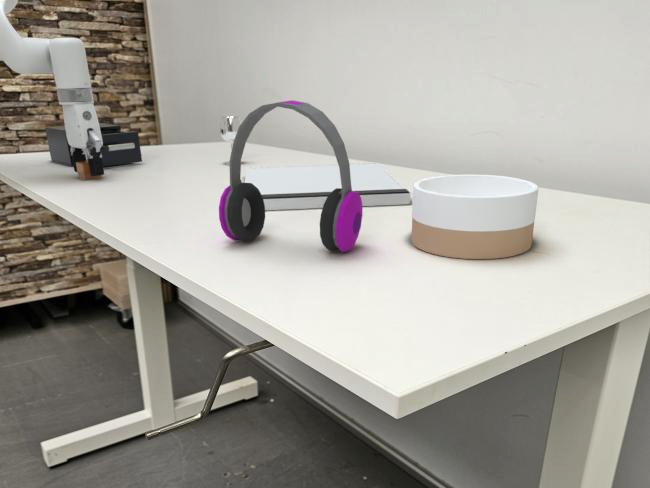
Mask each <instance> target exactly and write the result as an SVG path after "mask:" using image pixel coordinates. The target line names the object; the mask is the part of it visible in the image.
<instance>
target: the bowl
mask: <svg viewBox="0 0 650 488" xmlns="http://www.w3.org/2000/svg"><path fill="white" fill-rule="evenodd" d="M538 195H539V186H538V185H537V184H536V183H534V182H532V181H529V180H526V179H522V178H518V177H512V176H505V175H493V174H447V175H446V174H445V175H437V176H431V177H426V178H422V179H420V180H418V181H416V182H414V183H413V186H412V204H411V205H412V207H411V208H412V209H411V243H412V245H413V246H414V247H416V248H417V249H419V250H421V251H422V252H426V253H429V254H432V255H436V256H440V257H446V258H453V259H465V260H495V259H503V258H510V257H515V256H518V255H522V254H524V253H526V252H528V251H530V249H531V247H532V244H533V236H534V228H535V220H536V214H537V204H538V197H539V196H538Z"/></svg>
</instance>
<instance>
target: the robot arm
mask: <svg viewBox="0 0 650 488" xmlns="http://www.w3.org/2000/svg"><path fill="white" fill-rule="evenodd" d="M18 2H19V0H0V59H1V60H2V61H3V62H4V63H5V65H6V66H7V67H8V68H10V70H12V71H13V72H14V73H16V74H20V75H53V79H54V83H55V88H56V93H57V99H58V104H59V105H60V106H62V116H63V123H64V126H65V130H66V136H67V140H68V143H69V147H70V153H71V156H72V161H73V166H74V167H73V170H74V172H75V173H78V172H77V167H76V162H81V161H86V156H85V154H83V152H84V149H85V150H86V152H87V155H88V157H89V159H87V160H88V165H89V171H90V175H91V176H99V175H101V176H104V175H105V170H104V166H103V163H102V154H101V150H102V149H101V147H102V146H103V141H102V136H101V131H100V126H99V123H100V121H99V118H98V114H97V111H96V108H95V107H96V106H95V101H94V95H93V94H94V93H93V88H92V82H91V78H90V77H91V76H90V71H89V64H88V59H87V58H88V57H87V53H86V47H85V44H84V41H83V40H82V39H81V38H78V37H54V38H45V37H23V36H20V34H19V33H18V31H17V30H16V29H15V28H14V27H13V25H12V24H11V22H10V21H9V19H8V16H7V15H8V14H10V13H11V12H12V11H13V10H14V9H15V7H16V6H17V4H18ZM90 150H92V151H90Z"/></svg>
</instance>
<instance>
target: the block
mask: <svg viewBox="0 0 650 488" xmlns="http://www.w3.org/2000/svg"><path fill="white" fill-rule="evenodd" d="M76 167H77V172H76V173H77V177H78V178H77V179H80V180H83V181H90V180H98V179H102V175H99V176H91V175H90V171H89V165H88V161H81V162H76Z"/></svg>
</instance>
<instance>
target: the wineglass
mask: <svg viewBox="0 0 650 488" xmlns="http://www.w3.org/2000/svg"><path fill="white" fill-rule="evenodd" d="M241 124H242V122H241V118H240V116H236V115H235V116H222V117H221V118H220V126H219V130H220V131H219V132H220V136H221V138H222V139H223V140H224V141H225V142H228V143H230V149H231V150H232V146H233V142H234V139H235V137H236V134H237V131H238V129H239V126H240V125H241ZM226 165H229V166H230V162H227V163H226ZM241 165H243V164H242V162H241Z"/></svg>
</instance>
